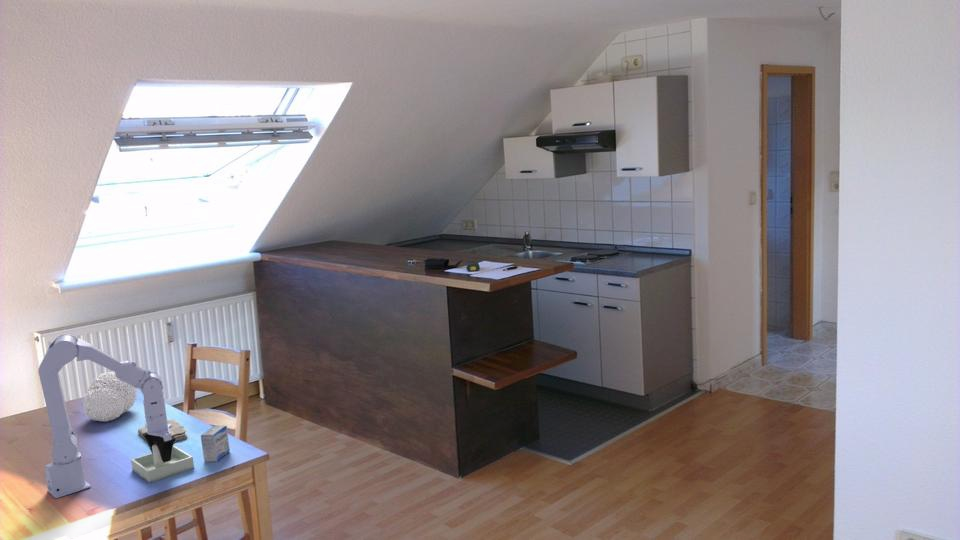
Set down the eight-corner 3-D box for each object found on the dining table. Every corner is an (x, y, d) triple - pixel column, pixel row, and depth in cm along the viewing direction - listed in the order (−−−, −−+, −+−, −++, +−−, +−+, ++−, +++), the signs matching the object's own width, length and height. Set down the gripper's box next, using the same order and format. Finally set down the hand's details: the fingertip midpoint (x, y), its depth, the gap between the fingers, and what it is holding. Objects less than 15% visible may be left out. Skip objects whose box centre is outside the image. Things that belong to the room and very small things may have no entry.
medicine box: (217, 462, 239) (213, 435, 237) (203, 461, 240) (200, 434, 238) (230, 451, 247) (227, 425, 245) (217, 451, 248) (213, 424, 246)
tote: (149, 483, 227) (147, 471, 226) (132, 470, 237) (130, 459, 236) (194, 467, 236) (192, 456, 235) (176, 456, 245) (174, 445, 245)
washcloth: (153, 449, 253) (151, 440, 253) (136, 435, 267) (135, 426, 266) (190, 439, 260) (189, 430, 260) (172, 425, 274) (171, 416, 274)
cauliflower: (94, 385, 295) (102, 356, 286) (141, 401, 299) (150, 373, 290) (70, 425, 279) (77, 396, 270) (119, 442, 283) (129, 413, 274)
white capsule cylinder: (158, 471, 233) (155, 449, 232) (152, 468, 236) (149, 445, 235) (172, 466, 236) (169, 444, 235) (166, 463, 239) (163, 441, 238)
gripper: (179, 415, 230) (184, 459, 233) (159, 405, 241) (165, 447, 243) (154, 422, 226) (161, 467, 228) (135, 411, 236) (142, 454, 239)
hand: (161, 457), depth 235 cm, fingers open, 7 cm apart
